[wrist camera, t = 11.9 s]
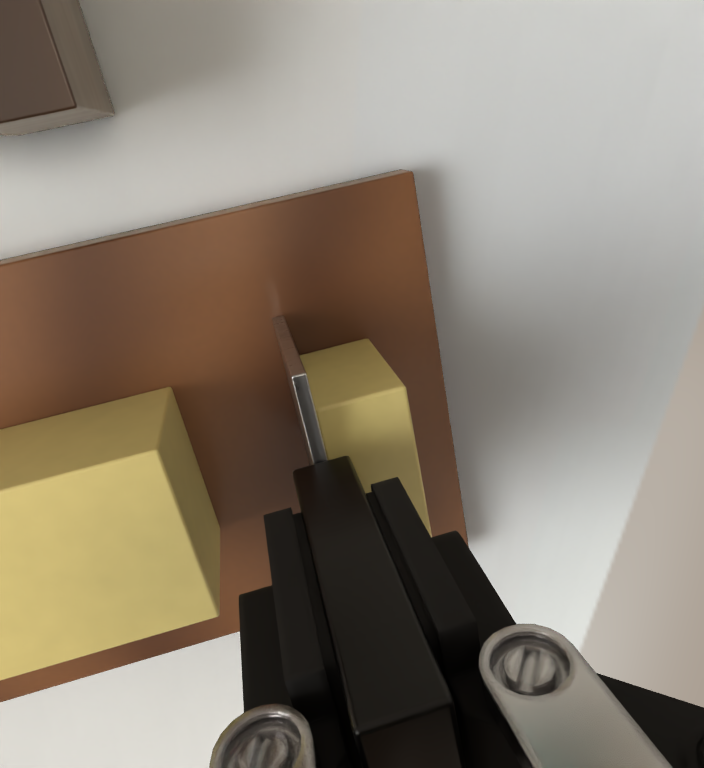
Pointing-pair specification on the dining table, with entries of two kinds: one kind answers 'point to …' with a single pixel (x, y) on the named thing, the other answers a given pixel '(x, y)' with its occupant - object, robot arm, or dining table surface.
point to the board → (230, 355)
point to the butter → (102, 532)
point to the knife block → (47, 68)
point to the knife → (368, 608)
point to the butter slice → (366, 416)
